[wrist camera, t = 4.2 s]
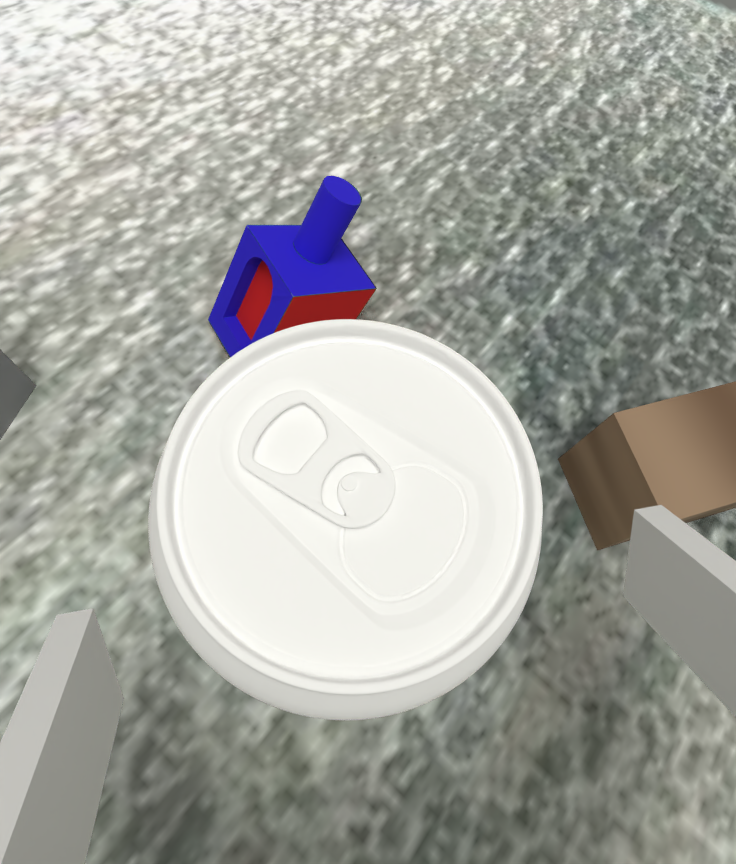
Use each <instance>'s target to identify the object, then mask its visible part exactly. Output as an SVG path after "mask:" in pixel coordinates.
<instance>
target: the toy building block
mask: <svg viewBox="0 0 736 864" xmlns="http://www.w3.org/2000/svg"><path fill="white" fill-rule="evenodd" d="M361 202H362V197H361V195H360V193H359V192H358V190H357V189H356V188H355V187H354V186H353V185H352V184H350V183H349V182H347V181H346V180H344V179H342V178H339V177H336V176H327V177H326V178H324V180H323V182H322V184H321V186H320V188H319V190H318V192H317V194H316V196H315V198H314V200H313V202H312V205H311V207H310V209H309V211H308V213H307V215H306V217H305V219H304V221H303V223H302V225H247V226H246V228H245V230H244V233H243V235H242V238H241V240H240V243H239V245H238V248H237V250H236V253H235V255H234V258H233V260H232V262H231V265H230V267H229V270H228V272H227V275H226V277H225V280H224V282H223V285H222V287H221V290H220V292H219V294H218V297H217V299H216V302H215V304H214V307H213V309H212V312H211V314H210V317H209V319H208V321H209V322H210V324H211V326H212V327H213V329H214V331H215V332H216V334H217V336H218V337H219V339H220V341H221V343H222V344H223V346H224V348H225V349H226V351H227V353H228V354H229V356H230V357H232V356H233V355H235V354H236V353H237V352H239V351H240V350H242V349H244V348H245V347H247V346H249V345H250V344H252V343H254V342H256V341H258V340H260V339H262V338H264V337H266V336H268V335H271V334H273V333H276V332H278V331H281V330H284V329H287V328H290V327H294V326H297V325H302V324H306V323H311V322H317V321H324V320H337V319H356V318H357V317H358V315H359V314H360V312H361V311H362V309H363V308H364V306H365V305H366V304H367V302H368V301H369V299H370V298H371V296H372V295H373V293H374V292H375V290H376V289H377V288H376V287H375V285H374V284H373V282H372V281H371V280H370V278H369V277H368V275H367V274H366V273H365V271H364V270H363V268H362V267H361V265H360V264H359V263H358V261H357V260H356V258H355V257H354V256H353V254H352V253H351V251H350V250H349V249H348V247H347V246H346V244H345V243H344V241H343V240H342V239H341V238H342V236H343V234H344V232H345V231H346V229H347V227H348V225H349V223H350V222H351V220H352V218H353V216H354V215H355V213H356V211H357V209H358V208H359V206H360V204H361Z"/></svg>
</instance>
